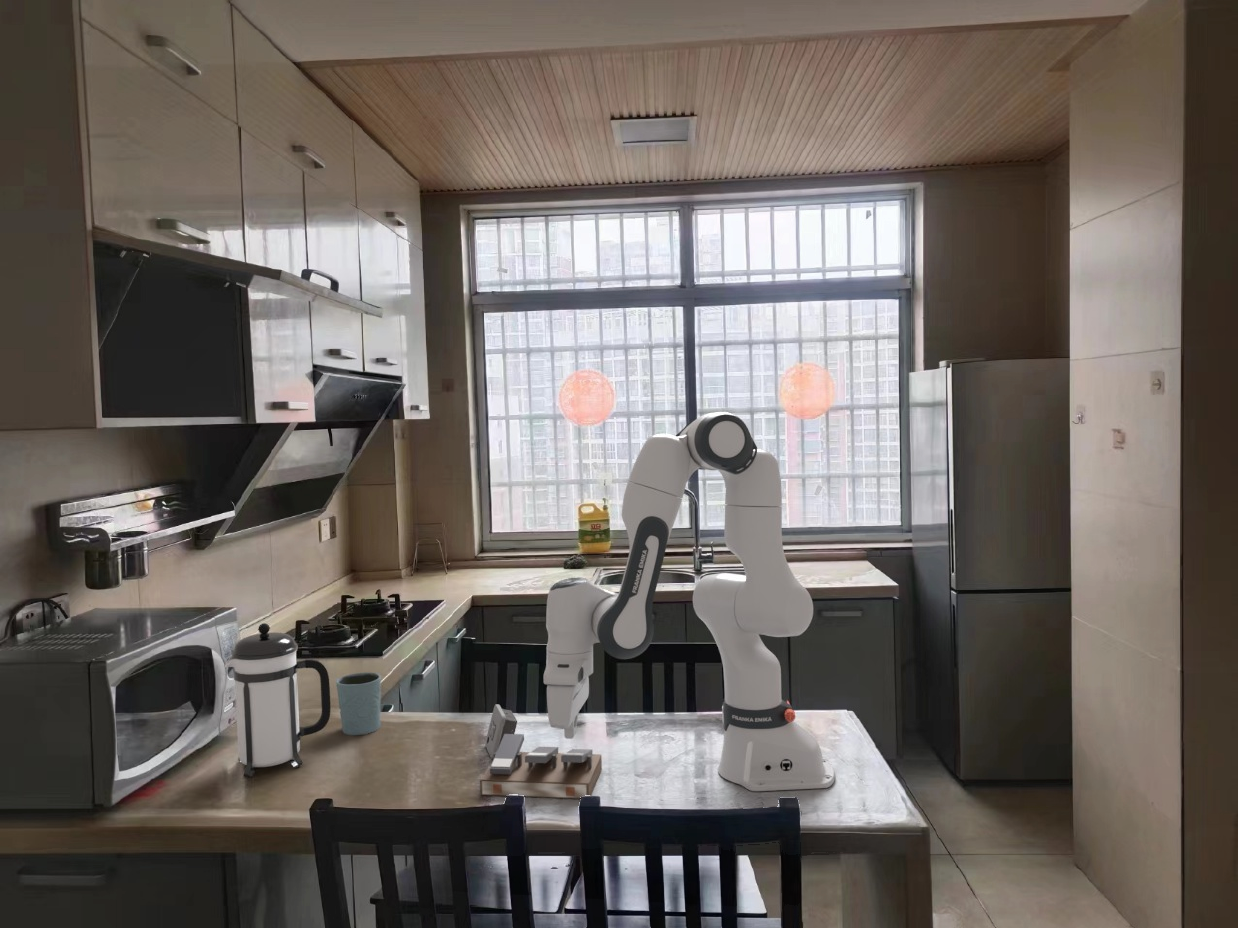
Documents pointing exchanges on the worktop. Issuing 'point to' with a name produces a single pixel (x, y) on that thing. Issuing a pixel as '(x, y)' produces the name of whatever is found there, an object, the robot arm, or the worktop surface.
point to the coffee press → (271, 699)
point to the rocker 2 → (576, 755)
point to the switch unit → (545, 778)
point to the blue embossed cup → (359, 702)
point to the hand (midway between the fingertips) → (570, 736)
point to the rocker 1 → (507, 754)
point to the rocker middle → (541, 755)
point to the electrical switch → (499, 728)
